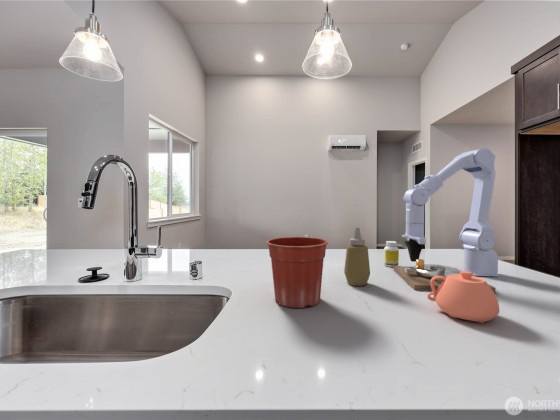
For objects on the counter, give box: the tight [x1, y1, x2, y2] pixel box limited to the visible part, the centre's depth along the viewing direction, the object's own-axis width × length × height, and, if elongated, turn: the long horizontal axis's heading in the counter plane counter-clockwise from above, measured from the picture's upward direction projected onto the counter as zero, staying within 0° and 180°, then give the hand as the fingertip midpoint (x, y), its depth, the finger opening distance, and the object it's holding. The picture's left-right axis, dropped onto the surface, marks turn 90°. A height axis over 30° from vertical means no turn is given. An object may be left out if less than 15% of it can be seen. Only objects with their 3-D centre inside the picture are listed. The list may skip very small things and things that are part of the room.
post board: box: [392, 265, 497, 294], centre depth 89 cm, size 22×22×6 cm
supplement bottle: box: [383, 240, 400, 268], centre depth 108 cm, size 5×5×10 cm
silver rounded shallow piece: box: [405, 258, 461, 278], centre depth 89 cm, size 17×14×4 cm
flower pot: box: [266, 236, 329, 309], centre depth 72 cm, size 16×16×16 cm
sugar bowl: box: [427, 271, 500, 324], centre depth 63 cm, size 12×14×10 cm
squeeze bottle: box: [343, 227, 371, 287], centre depth 86 cm, size 8×8×18 cm
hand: (414, 261), depth 95 cm, fingers closed
